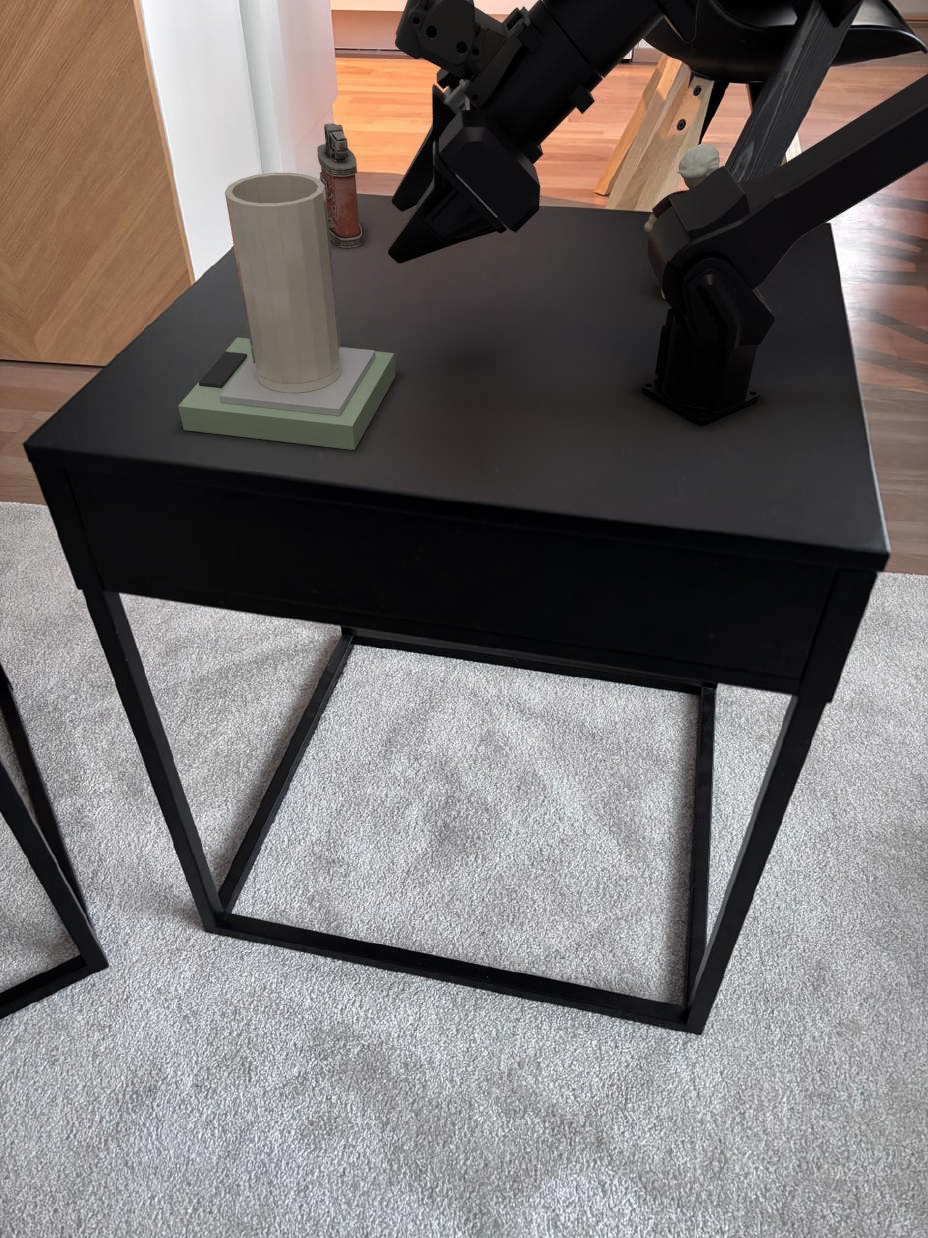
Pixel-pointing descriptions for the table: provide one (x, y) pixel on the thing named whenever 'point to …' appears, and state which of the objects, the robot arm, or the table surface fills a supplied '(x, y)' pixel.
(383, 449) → the table surface
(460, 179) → the robot arm
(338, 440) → the scale
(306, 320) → the tumbler
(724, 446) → the table surface
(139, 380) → the table surface
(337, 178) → the lighter
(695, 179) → the grandmother figurine
